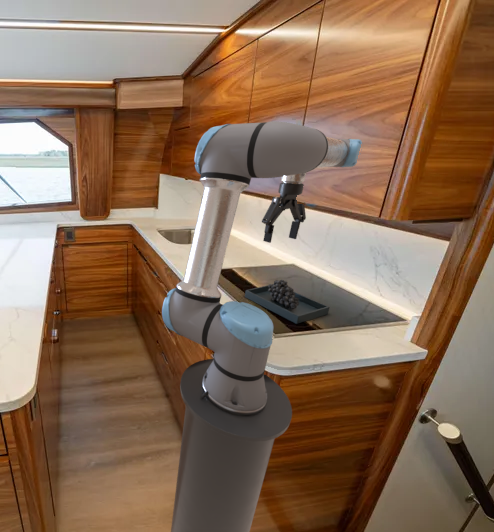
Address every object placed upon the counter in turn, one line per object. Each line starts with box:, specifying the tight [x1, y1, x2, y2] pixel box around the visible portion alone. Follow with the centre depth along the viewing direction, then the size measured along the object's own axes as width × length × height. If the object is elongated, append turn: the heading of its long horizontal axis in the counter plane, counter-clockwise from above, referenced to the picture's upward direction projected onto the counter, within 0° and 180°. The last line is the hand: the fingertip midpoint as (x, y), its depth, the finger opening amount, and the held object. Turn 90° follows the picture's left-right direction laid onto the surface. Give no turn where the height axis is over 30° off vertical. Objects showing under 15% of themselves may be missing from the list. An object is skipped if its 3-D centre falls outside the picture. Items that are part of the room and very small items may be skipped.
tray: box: [244, 283, 331, 325], centre depth 117 cm, size 17×23×3 cm
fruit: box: [267, 279, 299, 310], centre depth 116 cm, size 9×8×15 cm
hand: (279, 240), depth 114 cm, fingers open, 13 cm apart
